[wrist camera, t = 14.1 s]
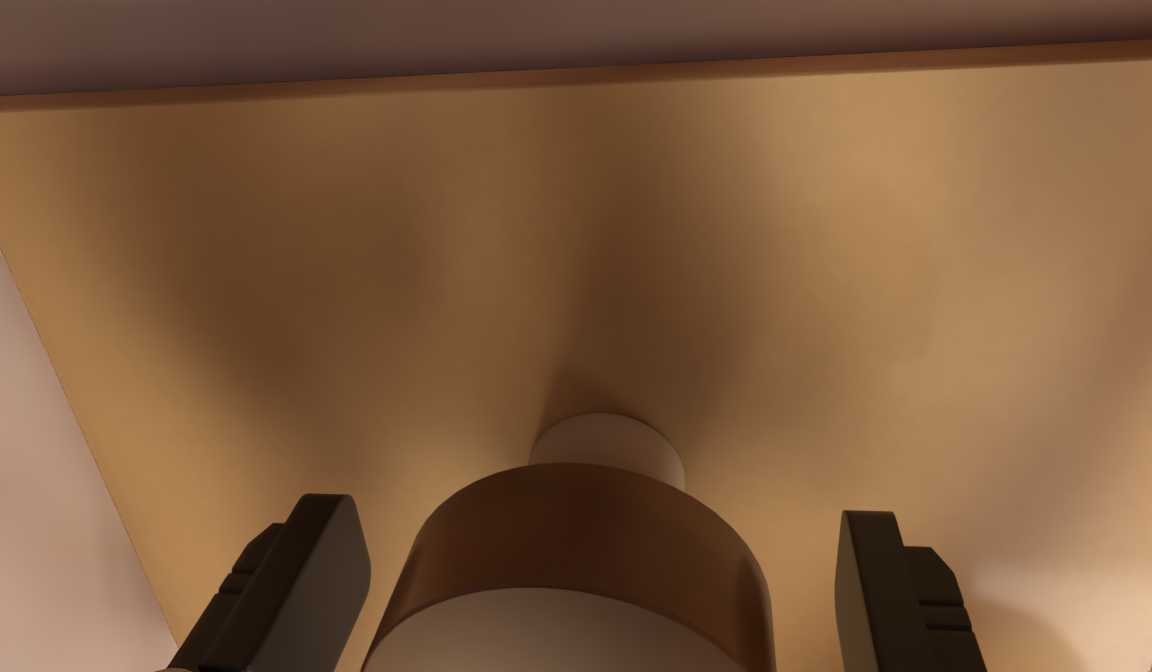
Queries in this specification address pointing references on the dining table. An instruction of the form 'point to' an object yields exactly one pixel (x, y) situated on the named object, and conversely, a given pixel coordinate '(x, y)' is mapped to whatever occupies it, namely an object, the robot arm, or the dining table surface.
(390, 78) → the board
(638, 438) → the mushroom
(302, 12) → the dining table surface
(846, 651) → the robot arm
